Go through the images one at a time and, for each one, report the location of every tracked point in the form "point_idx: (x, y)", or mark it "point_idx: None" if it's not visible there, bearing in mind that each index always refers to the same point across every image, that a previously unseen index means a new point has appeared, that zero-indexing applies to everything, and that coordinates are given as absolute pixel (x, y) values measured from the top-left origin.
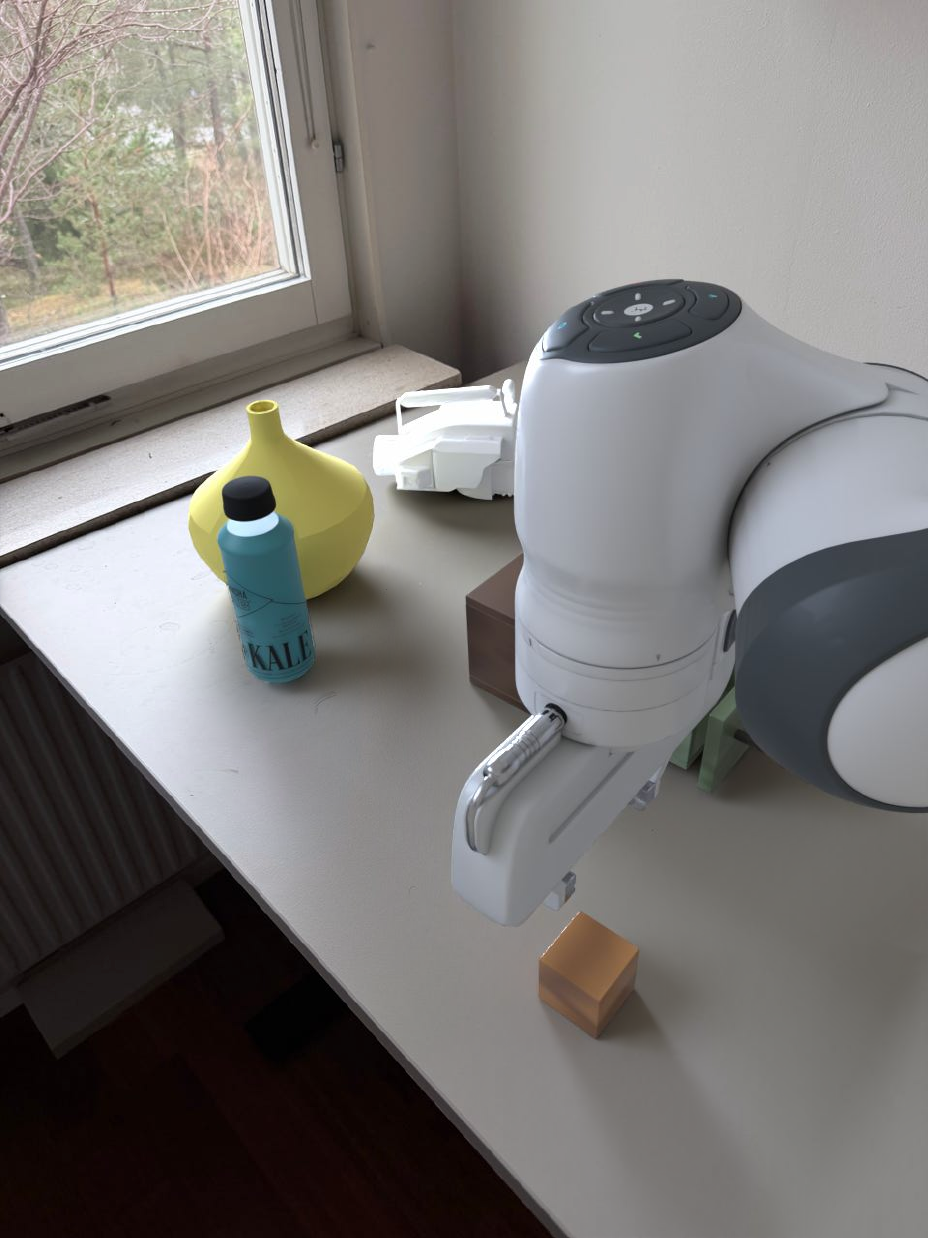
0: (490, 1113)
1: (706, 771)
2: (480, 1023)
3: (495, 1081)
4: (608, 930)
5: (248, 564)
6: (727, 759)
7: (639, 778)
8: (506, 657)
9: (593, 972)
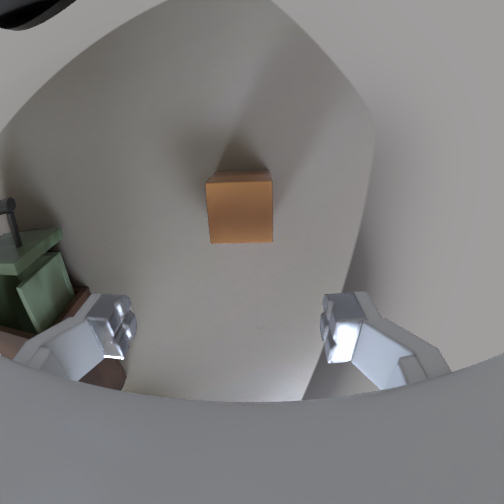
0: (354, 198)
1: (50, 242)
2: (310, 239)
3: (336, 208)
4: (209, 214)
5: None
6: (36, 236)
7: (144, 458)
8: (104, 385)
9: (252, 200)
